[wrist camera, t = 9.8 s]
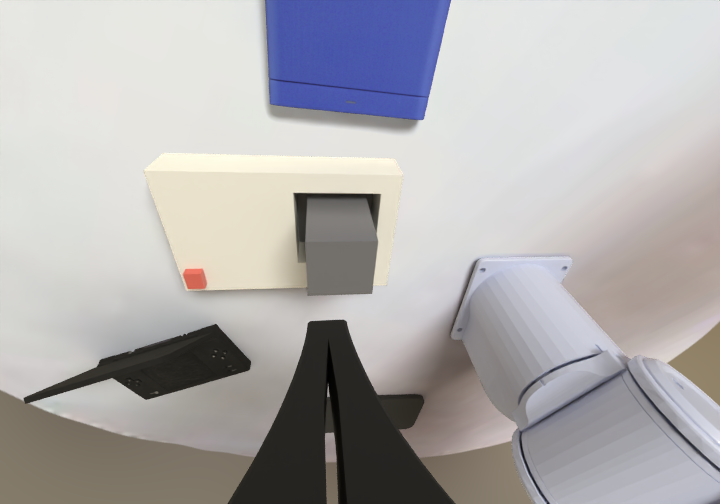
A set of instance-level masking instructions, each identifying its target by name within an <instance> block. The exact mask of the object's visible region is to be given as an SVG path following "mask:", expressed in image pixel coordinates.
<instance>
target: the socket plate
mask: <svg viewBox="0 0 720 504" xmlns="http://www.w3.org/2000/svg"><path fill="white" fill-rule="evenodd" d="M144 174H145V177H146V180H147V183H148V185H149V188H150V191H151V194H152V197H153V199H154V202H155V205H156V208H157V210H158V213H159V216H160V219H161V222H162V224H163V227H164V230H165V233H166V236H167V238H168V241H169V244H170V247H171V250H172V252H173V255H174V258H175V261H176V264H177V266H178V269H179V272H180V275H181V277H182V280H183V283H184V286H185V289H186V291H199V290H235V289H271V288H307V271H306V249H305V235H306V216H307V196H308V193H333V194H341V193H357V194H365V195H366V198H367V202H368V206H369V209H370V213H371V216H372V220H373V224H374V227H375V231H376V235H377V238H378V248H377V256H376V265H375V273H374V281H373V286H379V285H387V279H388V273H389V266H390V260H391V253H392V247H393V240H394V233H395V227H396V220H397V214H398V207H399V201H400V194H401V188H402V181H403V174H402V172H401V170H400V168H399V166H398V164H397V163H396V161H395V159H391V158H349V157H307V156H266V155H224V154H182V153H163V154H162V155H160V156H159V157H158V158H157V159H156V160H155V161H154V162H153V163H151V164H150V165H149V166H148V167H147V168H146V169H145V170H144Z"/></svg>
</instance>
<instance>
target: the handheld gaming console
mask: <svg viewBox="0 0 720 504" xmlns="http://www.w3.org/2000/svg"><path fill="white" fill-rule="evenodd" d="M250 365H251V361H250V360H249V359H248V358H247V357H246V356H245V355H244V354H243V353H242V352H241V351H240V349H239V348H238V347H237V346H236V345H235V344H234V343H233V342H232V341H231V340H230V339H229V338H228V337H227V336H226V334H225V333H224V332H223V331H222V330H221V329H220V328H219V327H218V325H217V324H215V325H212V326H208V327H205V328H202V329H200V330H197V331H194V332H190V333H188V334H187V335H186V334H184V335H183V336H177V337H174V338H170V339H167V340H164V341H161V342H157V343H154V344H151V345H148V346H145V347H142V348H139V349H135V351H134V352H131V351H129V352H126V353H122V354H119V355H116V356H115V355H114V356H111V357H108V358H105V359H101V360H100V362H99V364H98V366H97V367H96V368H94V369H91V370H89V371H86V372H84V373H82V374H79V375H77V376H75V377H72V378H70V379H67V380H65V381H63V382H60V383H58V384H55V385H53V386H51V387H48V388H46V389H44V390H41V391H39V392H36V393H34V394H32V395H29V396H27V397H25V398H24V401H25V403H30V402H33V401H37V400H40V399H44V398H47V397H50V396H54V395H57V394H60V393H64V392H67V391H70V390H74V389H77V388H80V387H84V386H87V385H90V384H94V383H97V382H100V381H104V380H107V379H111V378H113V379H115V380H117V381H118V382H120V383H121V384H123V385H124V386H126V387H127V388H129V389H130V390H132V391H133V392H135V393H136V394H138V395H139V396H141V397H142V398H144V399H146V400H147V399H151V398H155V397H158V396H162V395H165V394H169V393H172V392H176V391H179V390H183V389H186V388H190V387H193V386H197V385H200V384H204V383H207V382H210V381H214V380H217V379H221V378H224V377H228V376H231V375H235V374H238V373H241V372H245V371H248V370H250Z"/></svg>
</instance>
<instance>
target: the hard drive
mask: <svg viewBox="0 0 720 504" xmlns="http://www.w3.org/2000/svg"><path fill="white" fill-rule="evenodd" d="M450 2H451V0H265V6H266V25H267V46H268V67H269V95H270V104H272V105H278V106H286V107H295V108H306V109H315V110H325V111H335V112H344V113H355V114H366V115H374V116H385V117H394V118H403V119H413V120H423V119H424V116H425V111H426V107H427V103H428V98H429V94H430V90H431V85H432V81H433V76H434V72H435V68H436V63H437V59H438V55H439V51H440V46H441V42H442V37H443V33H444V28H445V23H446V20H447V15H448V11H449V7H450Z"/></svg>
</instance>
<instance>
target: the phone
mask: <svg viewBox="0 0 720 504" xmlns="http://www.w3.org/2000/svg"><path fill="white" fill-rule="evenodd" d="M378 397H379V399H380V401H381V402H382V404H383V406H384V407H385V409H386V411H387V412H388V414H389V416H390V417H391V419H392V420H393V422H394V423H395V425H396V426H397V428H398V429H407V428H410V427H412V426H413V425H414V423H415V421H416V419H417V417H418V415H419V413H420V410H421V408H422V406H423V404H424V400H423V397H422V396H421V395H418V394H409V395H378ZM331 432H334V427H333V419H332V411H331V402H330V397H327V407H326V424H325V433H331Z"/></svg>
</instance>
